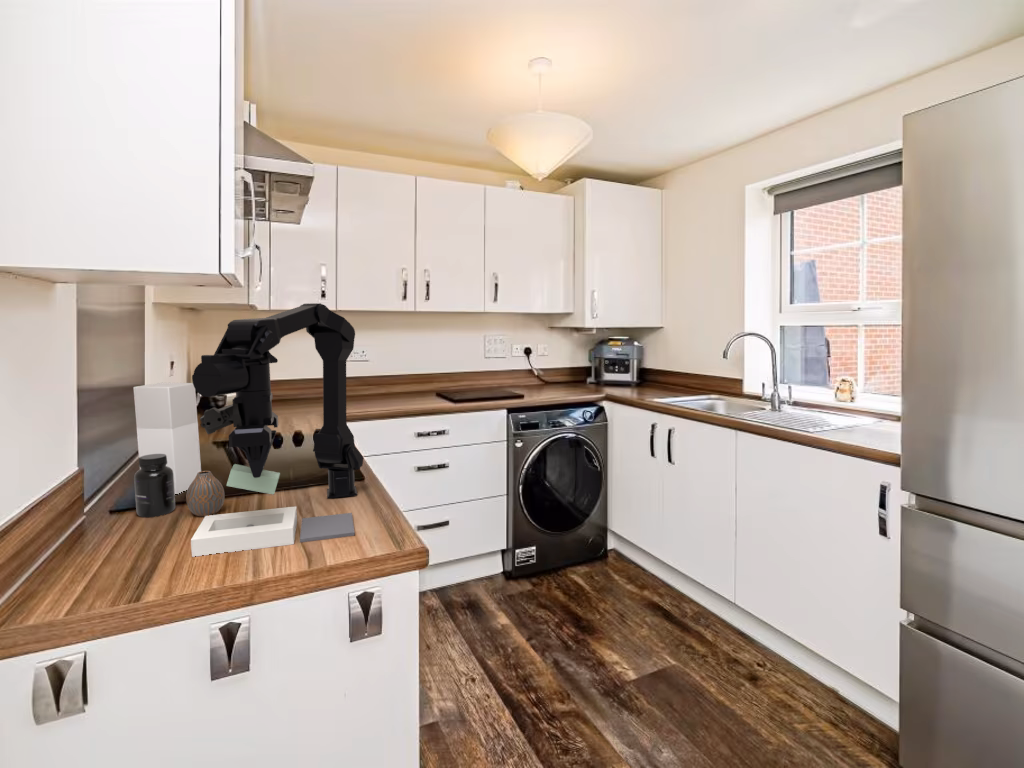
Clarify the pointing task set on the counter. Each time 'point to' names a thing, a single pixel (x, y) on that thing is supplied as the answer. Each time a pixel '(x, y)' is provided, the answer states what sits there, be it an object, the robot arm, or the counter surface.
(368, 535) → the counter surface
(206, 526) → the white rectangular frame
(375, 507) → the counter surface
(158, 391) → the tall white carton
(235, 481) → the sage block
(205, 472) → the vase
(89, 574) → the counter surface
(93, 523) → the counter surface
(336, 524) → the rubber mat
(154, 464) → the supplement bottle
